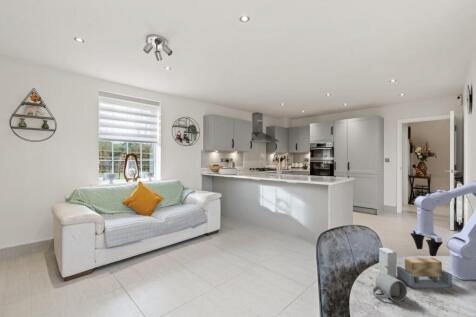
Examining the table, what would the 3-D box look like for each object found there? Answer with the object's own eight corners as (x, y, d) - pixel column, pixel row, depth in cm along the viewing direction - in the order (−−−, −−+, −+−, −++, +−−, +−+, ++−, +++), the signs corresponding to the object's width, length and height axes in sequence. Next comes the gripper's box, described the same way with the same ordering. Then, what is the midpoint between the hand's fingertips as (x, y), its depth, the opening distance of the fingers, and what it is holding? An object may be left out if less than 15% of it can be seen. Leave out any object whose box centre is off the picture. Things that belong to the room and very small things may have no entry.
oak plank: (412, 276, 96) (411, 262, 96) (405, 272, 100) (404, 258, 100) (441, 276, 96) (441, 262, 96) (433, 271, 100) (433, 257, 100)
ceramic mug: (389, 288, 94) (389, 269, 94) (408, 300, 86) (407, 280, 86) (367, 292, 92) (366, 273, 92) (383, 304, 84) (382, 284, 84)
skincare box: (378, 273, 106) (377, 247, 106) (387, 273, 106) (387, 247, 106) (387, 280, 100) (387, 252, 100) (397, 280, 100) (397, 252, 100)
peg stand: (435, 277, 102) (435, 265, 102) (452, 287, 94) (451, 275, 94) (397, 277, 102) (396, 266, 102) (410, 287, 94) (410, 275, 94)
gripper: (405, 218, 112) (405, 246, 112) (429, 227, 98) (430, 259, 98) (419, 218, 112) (420, 246, 112) (446, 227, 98) (447, 259, 98)
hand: (426, 252), depth 105 cm, fingers open, 7 cm apart
